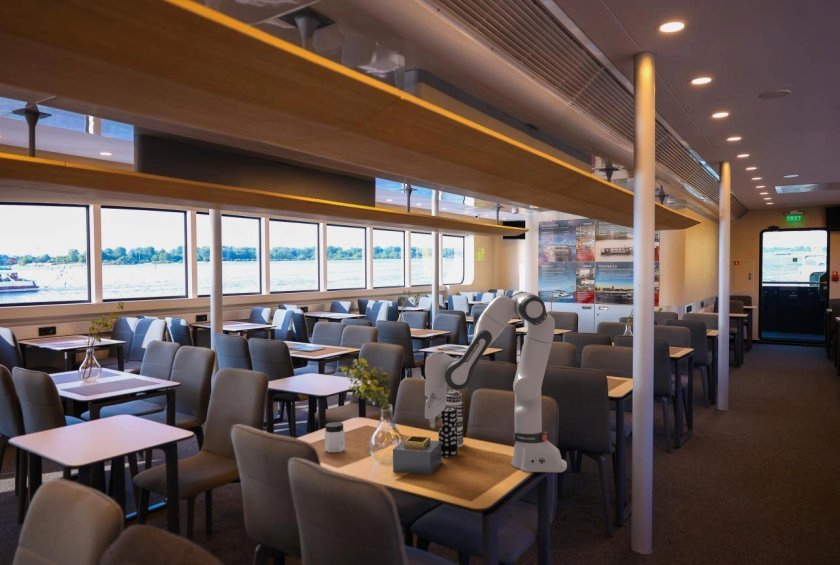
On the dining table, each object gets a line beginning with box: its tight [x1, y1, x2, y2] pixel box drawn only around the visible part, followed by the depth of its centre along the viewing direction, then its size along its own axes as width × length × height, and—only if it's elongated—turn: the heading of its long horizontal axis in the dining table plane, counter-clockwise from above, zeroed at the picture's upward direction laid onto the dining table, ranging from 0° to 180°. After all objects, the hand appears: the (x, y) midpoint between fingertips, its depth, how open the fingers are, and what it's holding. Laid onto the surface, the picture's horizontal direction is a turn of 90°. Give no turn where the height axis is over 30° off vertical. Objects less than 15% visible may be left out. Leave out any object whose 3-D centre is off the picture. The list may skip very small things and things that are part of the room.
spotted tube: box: [438, 407, 459, 458], centre depth 256 cm, size 8×8×20 cm
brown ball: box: [428, 416, 442, 431], centre depth 238 cm, size 6×6×6 cm
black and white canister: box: [446, 389, 465, 448], centre depth 271 cm, size 9×9×25 cm
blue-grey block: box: [392, 435, 443, 476], centre depth 241 cm, size 16×16×12 cm
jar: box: [324, 421, 346, 453], centre depth 266 cm, size 9×8×12 cm
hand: (435, 424), depth 238 cm, fingers closed on brown ball, 5 cm apart
